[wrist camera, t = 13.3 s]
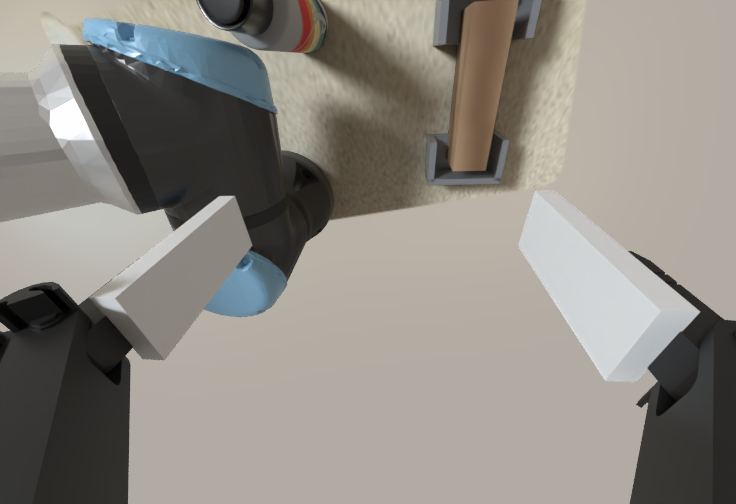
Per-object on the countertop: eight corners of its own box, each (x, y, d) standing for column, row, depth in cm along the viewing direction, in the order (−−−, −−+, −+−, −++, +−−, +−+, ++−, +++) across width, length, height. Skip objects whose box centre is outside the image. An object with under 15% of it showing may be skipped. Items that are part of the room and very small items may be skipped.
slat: (445, 157, 40) (452, 171, 35) (461, 10, 30) (474, 1, 26) (474, 156, 39) (485, 170, 34) (499, 7, 30) (519, -2, 25)
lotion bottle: (331, 52, 34) (272, 47, 18) (286, 53, 35) (190, 49, 18) (326, -10, 31) (249, -85, 15) (277, -8, 31) (150, -79, 15)
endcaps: (424, 173, 42) (427, 185, 38) (437, -19, 30) (443, -30, 26) (489, 171, 41) (499, 183, 37) (530, -27, 29) (551, -40, 25)
